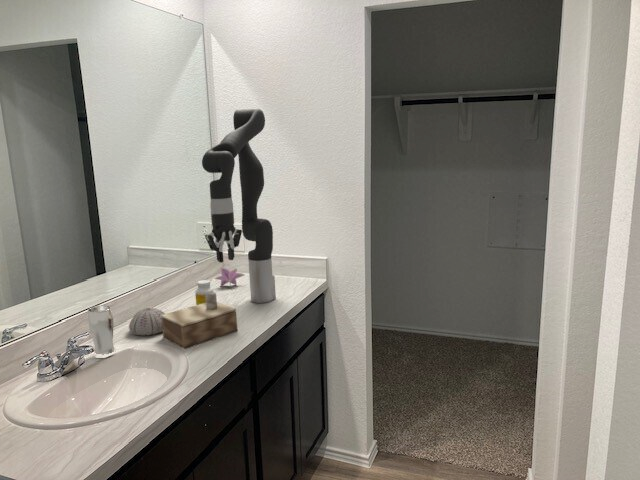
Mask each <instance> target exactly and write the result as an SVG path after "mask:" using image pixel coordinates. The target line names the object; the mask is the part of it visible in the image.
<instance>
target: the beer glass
mask: <svg viewBox="0 0 640 480" xmlns="http://www.w3.org/2000/svg"><path fill="white" fill-rule="evenodd" d="M87 322H88V323H87V324H88V329H89V333H90V336H91V338H92V342H93V344H94V353H96V354H102V355H104V354H109V353H112V352H114V350H115V351H116V348H115V346H114V338H113V337H114V317H113V311H112V307H111V306H110V305H108V304H105V305H103V304H101V305H96V306H95V305H94V306H92V307H90V308H88V309H87Z"/></svg>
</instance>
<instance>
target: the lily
mask: <svg viewBox="0 0 640 480" xmlns="http://www.w3.org/2000/svg"><path fill="white" fill-rule="evenodd" d="M237 270H238V268H233V269H232V270H229V269H227V268H225V267H220V275H219V276H217V277H215V278H214V279H215V280H218V281H220V286H221V285H223V286H224V285H226V284H228V283H229V286H230V290H231V291H232V285H235V284H236V285H237V279H240V278H242V277H245V276H246V275H245V274H244V273H242V272H237ZM231 284H232V285H231Z"/></svg>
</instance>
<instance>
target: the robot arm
mask: <svg viewBox="0 0 640 480" xmlns="http://www.w3.org/2000/svg"><path fill="white" fill-rule="evenodd" d="M265 125H266V117H265V113H264V112H263V110H262V109H261V108H259V107H249V108H238V109H235V110H234V113H233V128H234V129H233V130H232V131H230V132H229V133H228V134H226V135H225V136H224V138H223V139H222V140H221V141H220V143H218V144H216V145H214V146H213V147H211V148H209V149H208V150H207V151H206V152H205V153H204V155H203V156H202V160H201V165H202V168H203V170H204V171H205V172H207V173H210V174H216V173H217V174H218V173H219V174H220V173H221V175H220V178H219V179H216V180H215V179H214V180H212V181H210V182H209V195H210V203H209V204H210V206H209V207H210V216H211V217H210V218H211V219H210V220H211V227H212V231H211V232H210V233H209V234H205V237H204V239H206V242H207V244H208V246H209V248H210V250H211V251H215V253H216V260H217V261H218V263H224V251H223V246H224V244H225V243H226V247H227V256H228V257H227V259H228V261H229V260H230V261H234V258H235V248H236V247H239V246H240V245H239V244H240V242H241V238H242V235H243V237H244V239H246V240H247V241H250V242H255V248H254V249H252V250H250V251H248V253H247V258H248V259H247V260H248V273H249V275H248V276H249V288H250V289H249V291H250V301H251V302H252V303H257V304H258V303H259V304H260V303H261V304H262V303H263V304H264V303H269V302H272V301H273V300H275V299H276V298H277V297H276V296H277V295H276V294H277V293H276V280H275V279H276V277H275V275H274V274H273V261H272V260H273V258H272V253H273V247H274V240H273V238H274V236H273V235H274V232H273V230H274V229H273V225H272V223H271V221H270V220H268V219H266V218H258V209H257V208H258V202H259V199H260V197H261V195H262V192H263V189H264V187H265V174H264V166H263V165H262V164H263V163H261V161H260V160H259V158H258V157H257V155H256V154H255V153H254V151H253V149H252V148H251V146H250V141H251V140H252V139H254V138H255V137H256V136H257V135H260V133H261V132H262V131H263V130H264V128H265ZM237 156H238V165H239V167H238V170H239V182H240V188H241V189H240V191H241V192H240V193H241V209H242V210H241V229H240V228H239V229H238V228H235V225H234V224H235V215H234V213H235V211H234V203H233V197H232V195H233V194H232V180H233V175H234V174H233V173H234V170H235V165H236V164H235V163H236V161H235V158H236V157H237ZM214 239H215V240H214Z"/></svg>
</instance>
